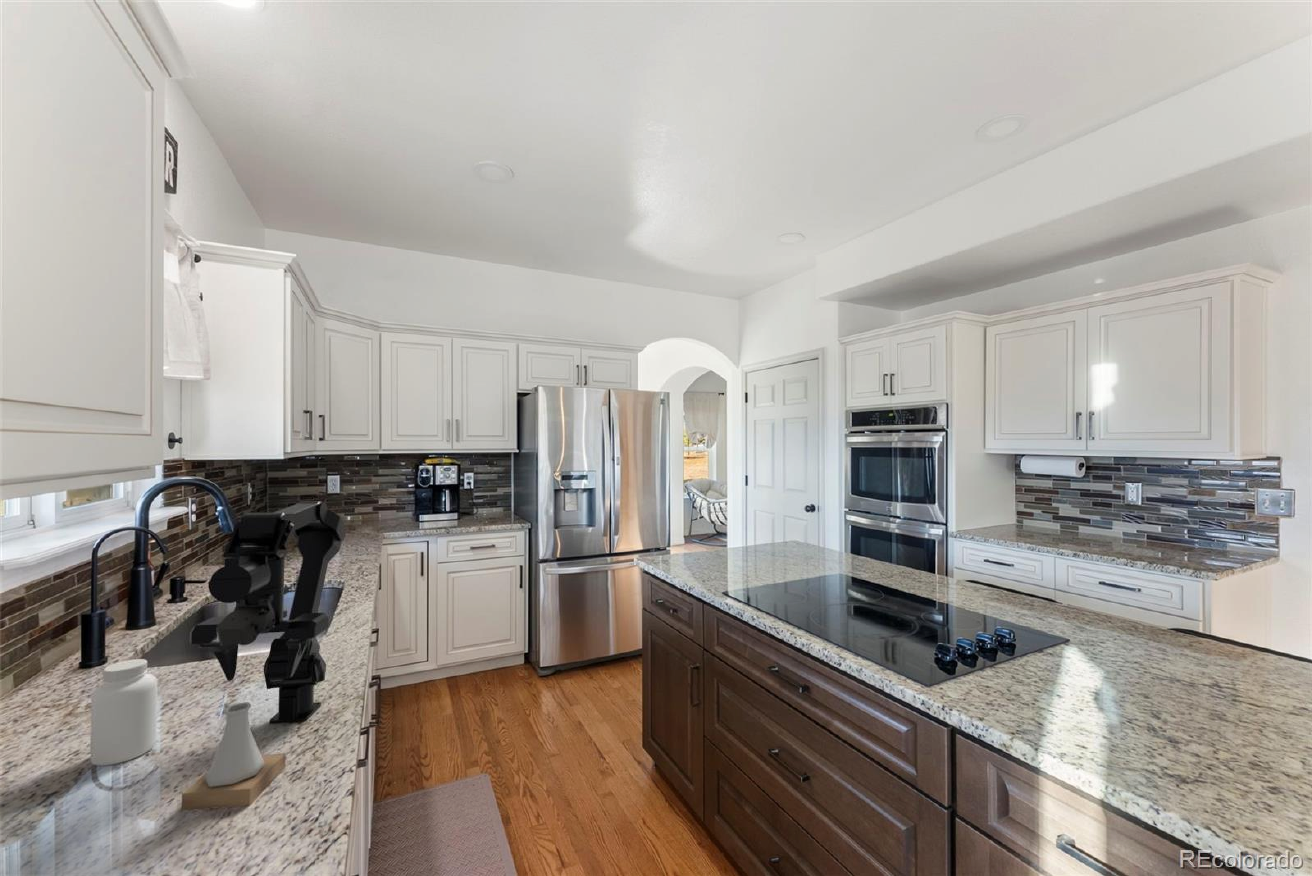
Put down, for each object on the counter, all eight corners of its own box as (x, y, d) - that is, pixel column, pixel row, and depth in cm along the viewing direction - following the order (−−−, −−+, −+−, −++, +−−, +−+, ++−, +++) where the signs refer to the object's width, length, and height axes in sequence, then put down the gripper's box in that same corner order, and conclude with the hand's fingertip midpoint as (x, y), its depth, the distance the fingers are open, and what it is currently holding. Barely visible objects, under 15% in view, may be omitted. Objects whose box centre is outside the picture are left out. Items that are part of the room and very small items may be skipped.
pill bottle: (90, 753, 89) (93, 664, 89) (156, 735, 94) (158, 651, 95) (87, 774, 83) (90, 679, 83) (156, 753, 89) (159, 664, 89)
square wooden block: (224, 776, 84) (224, 757, 84) (284, 772, 85) (285, 753, 85) (181, 814, 75) (181, 793, 75) (249, 809, 76) (250, 788, 76)
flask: (263, 777, 79) (265, 710, 79) (200, 794, 75) (203, 723, 75) (266, 754, 85) (268, 692, 85) (208, 769, 81) (210, 703, 81)
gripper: (165, 601, 79) (161, 705, 79) (298, 597, 82) (296, 696, 82) (214, 583, 90) (211, 673, 90) (330, 580, 93) (328, 667, 93)
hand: (261, 678), depth 89 cm, fingers open, 9 cm apart
